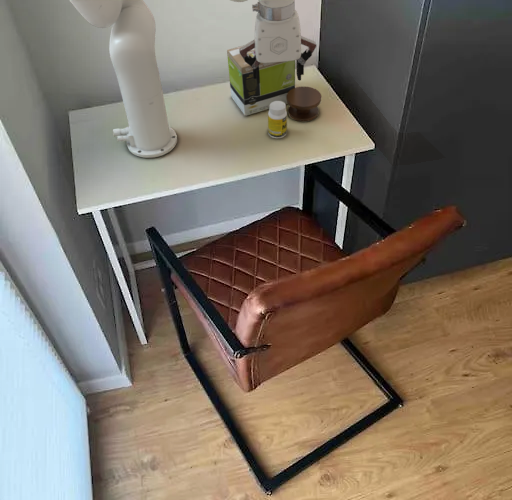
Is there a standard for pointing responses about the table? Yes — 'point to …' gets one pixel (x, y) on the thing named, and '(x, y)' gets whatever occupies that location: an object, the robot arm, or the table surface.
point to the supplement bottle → (277, 119)
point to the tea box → (267, 91)
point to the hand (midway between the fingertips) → (278, 79)
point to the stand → (303, 103)
